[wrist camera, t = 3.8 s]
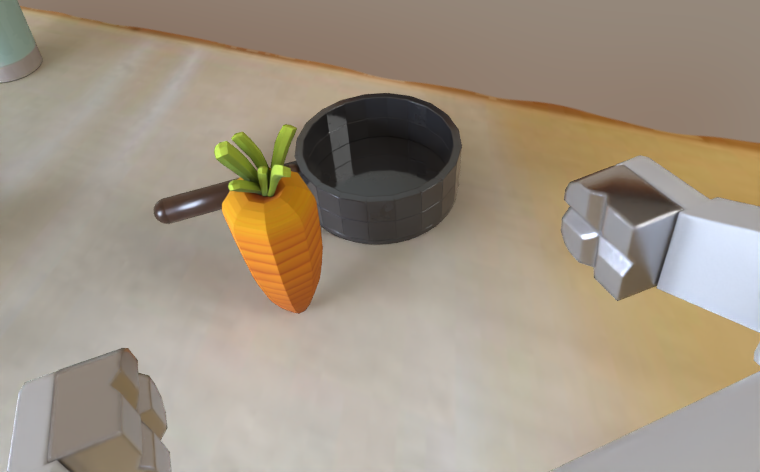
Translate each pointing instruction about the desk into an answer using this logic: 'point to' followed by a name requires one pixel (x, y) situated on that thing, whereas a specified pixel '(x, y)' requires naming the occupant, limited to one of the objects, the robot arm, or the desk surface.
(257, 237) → the carrot
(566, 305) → the desk surface
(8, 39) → the coffee cup
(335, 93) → the desk surface
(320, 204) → the pan
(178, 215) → the pan handle
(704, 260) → the robot arm
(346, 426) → the desk surface
